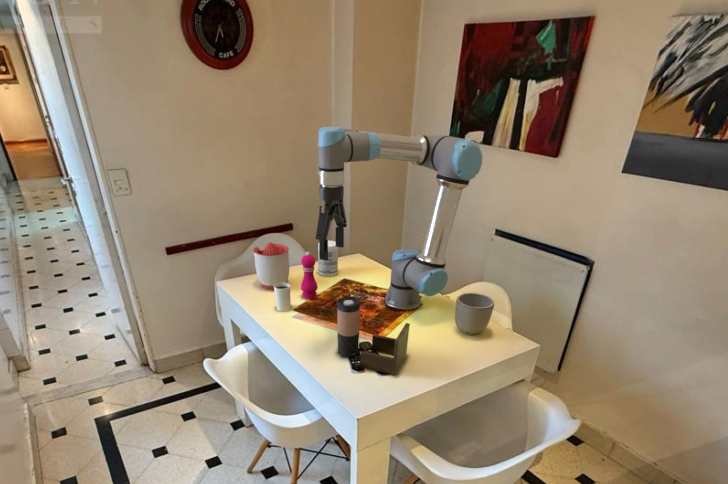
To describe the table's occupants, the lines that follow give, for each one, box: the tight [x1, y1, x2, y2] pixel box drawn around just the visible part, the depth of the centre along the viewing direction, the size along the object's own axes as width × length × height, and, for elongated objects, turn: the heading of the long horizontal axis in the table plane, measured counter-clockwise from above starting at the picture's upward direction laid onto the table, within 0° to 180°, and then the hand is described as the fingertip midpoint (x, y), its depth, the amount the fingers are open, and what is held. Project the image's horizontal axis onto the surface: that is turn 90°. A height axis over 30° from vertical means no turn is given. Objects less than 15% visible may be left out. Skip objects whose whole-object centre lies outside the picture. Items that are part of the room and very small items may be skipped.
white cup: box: [273, 282, 292, 312], centre depth 190 cm, size 7×7×10 cm
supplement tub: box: [317, 239, 339, 277], centre depth 221 cm, size 10×10×15 cm
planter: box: [454, 292, 495, 336], centre depth 175 cm, size 14×14×13 cm
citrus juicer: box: [252, 241, 290, 291], centre depth 207 cm, size 16×17×20 cm
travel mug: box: [336, 296, 361, 358], centre depth 159 cm, size 8×8×20 cm
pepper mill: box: [300, 251, 318, 300], centre depth 197 cm, size 7×7×20 cm
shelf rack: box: [359, 322, 411, 376], centre depth 157 cm, size 14×13×13 cm
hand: (332, 253), depth 154 cm, fingers open, 13 cm apart
